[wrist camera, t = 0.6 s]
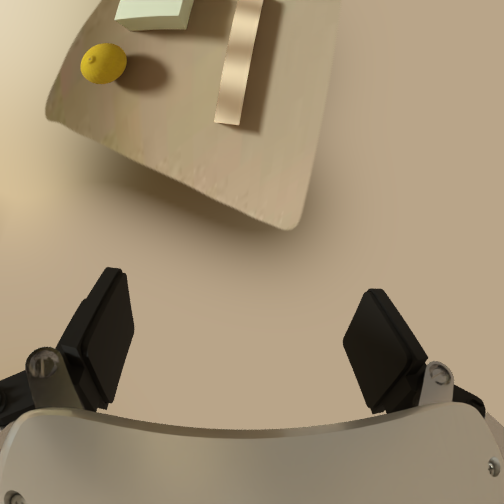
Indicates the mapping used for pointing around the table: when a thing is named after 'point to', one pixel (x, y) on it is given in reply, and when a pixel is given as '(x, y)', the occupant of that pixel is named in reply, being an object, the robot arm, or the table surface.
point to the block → (154, 14)
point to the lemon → (103, 63)
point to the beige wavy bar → (237, 61)
